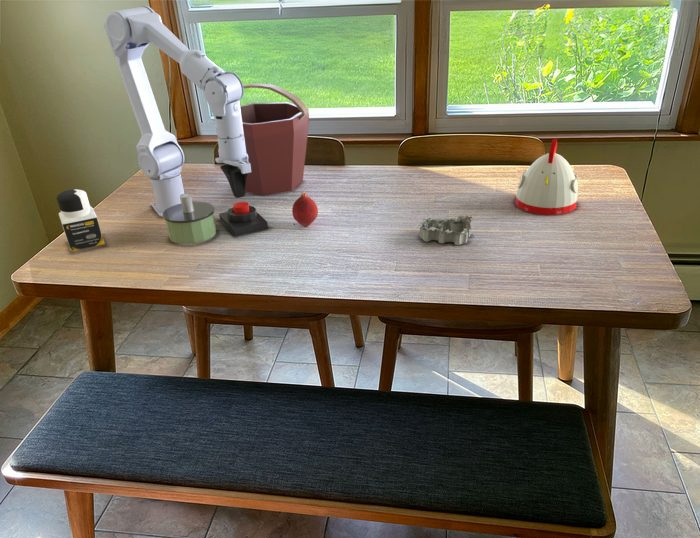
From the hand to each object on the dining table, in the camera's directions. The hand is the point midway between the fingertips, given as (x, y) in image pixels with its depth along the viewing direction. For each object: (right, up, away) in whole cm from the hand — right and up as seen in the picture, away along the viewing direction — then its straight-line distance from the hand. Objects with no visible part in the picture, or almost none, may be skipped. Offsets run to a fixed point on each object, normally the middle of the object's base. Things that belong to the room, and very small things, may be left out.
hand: (239, 196), depth 139 cm
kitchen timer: (+72, 0, +7) cm, 72 cm away
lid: (-11, -5, -4) cm, 12 cm away
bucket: (+4, +10, +27) cm, 29 cm away
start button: (0, -3, +2) cm, 4 cm away
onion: (+15, -7, +2) cm, 16 cm away
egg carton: (+46, -11, -6) cm, 47 cm away
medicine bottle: (-34, -11, -2) cm, 36 cm away
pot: (-10, -9, -1) cm, 14 cm away
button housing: (0, -6, +4) cm, 7 cm away
